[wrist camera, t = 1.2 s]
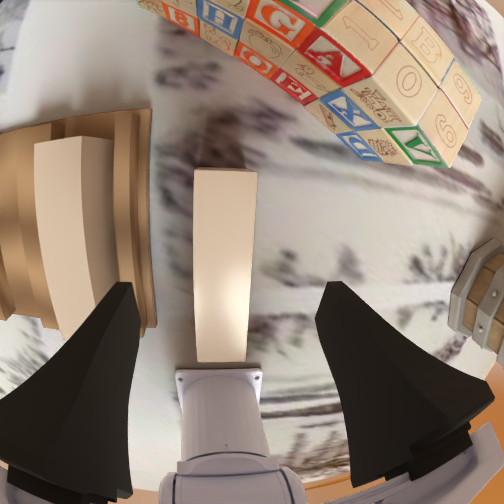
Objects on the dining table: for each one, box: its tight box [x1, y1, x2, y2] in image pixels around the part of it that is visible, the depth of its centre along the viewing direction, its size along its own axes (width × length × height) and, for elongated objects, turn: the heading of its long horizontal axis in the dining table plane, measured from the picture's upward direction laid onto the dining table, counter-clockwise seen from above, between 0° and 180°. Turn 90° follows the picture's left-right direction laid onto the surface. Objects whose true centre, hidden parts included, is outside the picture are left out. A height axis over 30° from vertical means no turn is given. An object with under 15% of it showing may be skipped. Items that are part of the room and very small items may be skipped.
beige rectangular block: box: [193, 167, 258, 362], centre depth 18 cm, size 12×3×5 cm, turn 177°
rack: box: [0, 108, 157, 337], centre depth 16 cm, size 16×16×3 cm
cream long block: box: [34, 136, 120, 340], centre depth 15 cm, size 12×3×5 cm, turn 177°
